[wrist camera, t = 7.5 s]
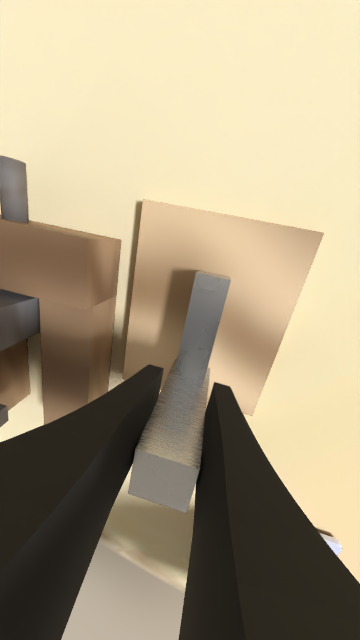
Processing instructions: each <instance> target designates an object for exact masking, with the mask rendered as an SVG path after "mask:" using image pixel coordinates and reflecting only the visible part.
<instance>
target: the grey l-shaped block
mask: <svg viewBox="0 0 360 640" xmlns="http://www.w3.org/2000/svg"><path fill="white" fill-rule="evenodd" d="M230 282H231V278H230V277H229V276H225V275H220V274H216V273H211V272H206V271H202V270H199V271H197V272H196V275H195V279H194V284H193V289H192V293H191V298H190V303H189V307H188V312H187V317H186V321H185V326H184V330H183V335H182V340H181V344H180V349H179V354H178V358H177V359H175V360H174V363H173V365H172V367H171V369H170V372H169V374H168V376H167V378H166V381H165V383H164V385H163V388H162V390H161V392H160V394H159V397H158V400H157V403H156V405H155V407H154V409H153V412H152V414H151V416H150V418H149V420H148V422H147V424H146V426H145V428H144V431H143V433H142V435H141V437H140V440H139V442H138V444H137V447H136V449H135V455H134V461H133V467H132V472H131V478H130V484H129V490H128V493H129V494H132V495H134V496H137V497H140V498H143V499H146V500H149V501H152V502H155V503H158V504H160V505H163V506H166V507H169V508H172V509H175V510H178V511H181V512H184V513H187V509H188V506H189V503H190V500H191V496H192V493H193V490H194V487H195V483H196V480H197V477H198V474H199V471H200V463H201V454H202V444H203V429H204V419H205V412H206V406H207V396H208V386H209V377H210V368H208V364H209V360H210V356H211V353H212V349H213V345H214V342H215V338H216V334H217V330H218V327H219V323H220V319H221V316H222V312H223V308H224V305H225V301H226V297H227V293H228V290H229V286H230Z"/></svg>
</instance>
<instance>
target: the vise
mask: <svg viewBox="0 0 360 640" xmlns="http://www.w3.org/2000/svg"><path fill="white" fill-rule="evenodd" d="M0 203H1V214H2V215H1V214H0V427H1V426H2V425H3V424H5V423H6V422H7V421H8V410H10V409H11V408H12V407H14V406H15V405H16V404H18V403H19V402H20V401H21V400H23V399H24V398H25V397H27V396H28V395H29V394H30V384H29V369H28V353H27V338H29V337H31V336H33V335H35V334H37V333H39V332H40V333H41V358H42V383H43V408H44V425H45V424H48V423H50V422H52V421H54V420H56V419H59V418H61V417H63V416H65V415H67V414H69V413H71V412H73V411H75V410H77V409H79V408H81V407H83V406H84V405H86V404H88V403H90V402H91V401H93V400H95V399H97V398H98V397H100V396H102V395H104V394H105V393H107V392H108V384H109V373H110V361H111V350H112V339H113V327H114V316H115V305H116V294H117V282H118V271H119V260H120V248H121V240H119V239H114V238H110V237H105V236H100V235H95V234H91V233H86V232H81V231H77V230H72V229H67V228H62V227H58V226H53V225H48V224H43V223H39V222H34V221H29V219H28V199H27V179H26V164H25V163H24V162H21V161H18V160H15V159H12V158H9V157H5V156H0Z"/></svg>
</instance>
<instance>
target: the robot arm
mask: <svg viewBox="0 0 360 640" xmlns="http://www.w3.org/2000/svg"><path fill="white" fill-rule="evenodd" d="M163 371H164V368H161V367H158V366H154V365H151V364H149V365H147V366H145V367H144V368H143V369H141V370H140V371H138V372H137V373H136V374H134V375H133V376H131V377H130V378H128V379H127V380H126V381H124V382H123V383H121V384H119V385H118V386H116V387H115V388H113V389H112V390H110V391H109V392H107V393H105V394H104V395H102V396H100V397H98V398H97V399H95V400H93V401H91V402H90V403H88V404H86V405H84V406H83V407H81V408H79V409H77V410H75V411H73V412H71V413H69V414H67V415H65V416H63V417H61V418H59V419H56V420H54V421H52V422H50V423H48V424H45V425H43V426H40V427H38V428H35V429H33V430H30V431H28V432H26V433H23V434H21V435H18V436H16V437H13V438H11V439H8V440H6V441H3V442H0V640H61V638H62V635H63V633H64V630H65V627H66V625H67V622H68V619H69V617H70V614H71V611H72V609H73V606H74V604H75V601H76V598H77V595H78V593H79V590H80V587H81V585H82V583H83V580H84V577H85V575H86V572H87V570H88V567H89V564H90V562H91V559H92V556H93V554H94V551H95V549H96V546H97V544H98V541H99V539H100V536H101V534H102V531H103V529H104V526H105V524H106V521H107V518H108V516H109V513H110V511H111V508H112V506H113V504H114V502H115V499H116V497H117V495H118V493H119V491H120V489H121V487H122V484H123V482H124V480H125V478H126V476H127V474H128V472H129V470H130V468H131V466H132V464H133V461H134V455H135V449H136V447H137V444H138V442H139V440H140V437H141V435H142V433H143V431H144V428H145V426H146V424H147V422H148V420H149V418H150V416H151V414H152V412H153V409H154V407H155V405H156V403H157V400H158V397H159V392H160V386H161V381H162V376H163ZM341 551H342V547H341V544H340V541H339V540H338V539H336V538H334V537H331V536H328V535H325V534H322V533H319V532H318V531H317V530H316V528H315V527H314V526H313V524H312V523H311V522H310V520H309V519H308V518H307V516H306V515H305V514H304V512H303V511H302V510H301V508H300V507H299V506H298V504H297V503H296V501H295V500H294V499H293V497H292V496H291V494H290V493H289V491H288V490H287V488H286V487H285V485H284V484H283V482H282V481H281V480H280V478H279V477H278V475H277V473H276V472H275V470H274V469H273V467H272V466H271V464H270V462H269V461H268V459H267V457H266V456H265V454H264V452H263V451H262V449H261V447H260V445H259V444H258V442H257V440H256V438H255V436H254V434H253V433H252V431H251V429H250V427H249V425H248V423H247V421H246V419H245V417H244V415H243V413H242V411H241V409H240V407H239V404H238V402H237V400H236V398H235V396H234V393H233V391H232V389H231V387H230V386H227V385H223V384H220V383H216V382H214V384H213V388H212V391H211V395H210V398H209V401H208V405H207V408H206V412H205V419H204V429H203V444H202V454H201V463H200V471H199V474H198V477H197V480H196V494H195V512H194V526H193V537H192V545H191V553H190V560H189V568H188V575H187V583H186V590H185V598H184V605H183V613H182V619H181V627H180V634H179V640H360V584H359V582H358V581H357V580H356V579H355V577H354V576H353V575H352V574H351V573H350V571H349V570H348V569H347V568H346V566H345V565H344V564H343V563H342V562H341V560H340V559H339V558H338V557H337V556H338V555H339V553H340V552H341Z"/></svg>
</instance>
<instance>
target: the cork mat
mask: <svg viewBox="0 0 360 640" xmlns="http://www.w3.org/2000/svg"><path fill="white" fill-rule="evenodd" d="M323 235H324V233H321V232H316V231H311V230H305V229H300V228H295V227H290V226H284V225H279V224H274V223H268V222H263V221H258V220H252V219H247V218H242V217H236V216H231V215H226V214H220V213H215V212H210V211H204V210H199V209H194V208H188V207H183V206H178V205H172V204H167V203H162V202H156V201H151V200H146V199H143V203H142V212H141V221H140V230H139V238H138V247H137V256H136V265H135V273H134V282H133V291H132V299H131V308H130V317H129V326H128V334H127V343H126V352H125V360H124V369H123V378H122V379H125V380H127V379H128V378H130V377H131V376H133V375H134V374H136V373H137V372H138V371H140V370H141V369H143V368H144V367H145V366H147V365H149V364H151V365H154V366H158V367H161V368H164V371H163V376H162V381H161V386H160V390H162V388H163V385H164V383H165V381H166V378H167V376H168V374H169V372H170V369H171V367H172V365H173V363H174V360H175V359H177V358H178V354H179V349H180V344H181V340H182V335H183V330H184V326H185V321H186V317H187V312H188V307H189V303H190V298H191V293H192V289H193V284H194V279H195V275H196V272H197V271H199V270H202V271H206V272H211V273H216V274H220V275H225V276H229V277H230V278H231V282H230V286H229V290H228V293H227V297H226V301H225V305H224V308H223V312H222V316H221V319H220V323H219V327H218V330H217V334H216V338H215V342H214V345H213V349H212V353H211V356H210V360H209V364H208V368H210V377H209V386H208V396H207V403H208V401H209V398H210V395H211V391H212V388H213V384H214V382H216V383H220V384H223V385H227V386H230V387H231V389H232V391H233V393H234V396H235V398H236V400H237V402H238V404H239V407H240V409H241V411H242V413H243V414H247V415H250V416H252V415H253V413H254V410H255V408H256V405H257V402H258V400H259V397H260V395H261V392H262V390H263V387H264V385H265V382H266V380H267V377H268V374H269V372H270V369H271V367H272V364H273V362H274V359H275V357H276V354H277V352H278V349H279V347H280V344H281V341H282V339H283V336H284V334H285V331H286V329H287V326H288V324H289V321H290V319H291V316H292V313H293V311H294V308H295V306H296V303H297V301H298V298H299V296H300V293H301V291H302V288H303V285H304V283H305V280H306V278H307V275H308V273H309V270H310V268H311V265H312V263H313V260H314V257H315V255H316V252H317V250H318V247H319V245H320V242H321V240H322V237H323Z"/></svg>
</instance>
